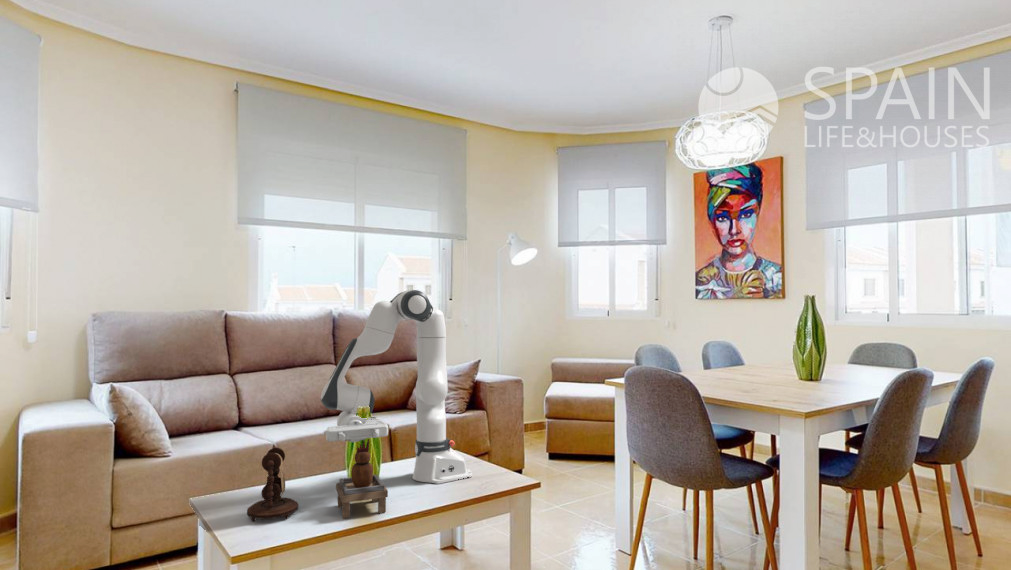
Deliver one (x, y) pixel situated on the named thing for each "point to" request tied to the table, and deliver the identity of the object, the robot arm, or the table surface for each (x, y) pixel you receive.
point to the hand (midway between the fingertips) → (360, 436)
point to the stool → (360, 494)
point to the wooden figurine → (362, 467)
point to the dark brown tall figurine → (273, 490)
